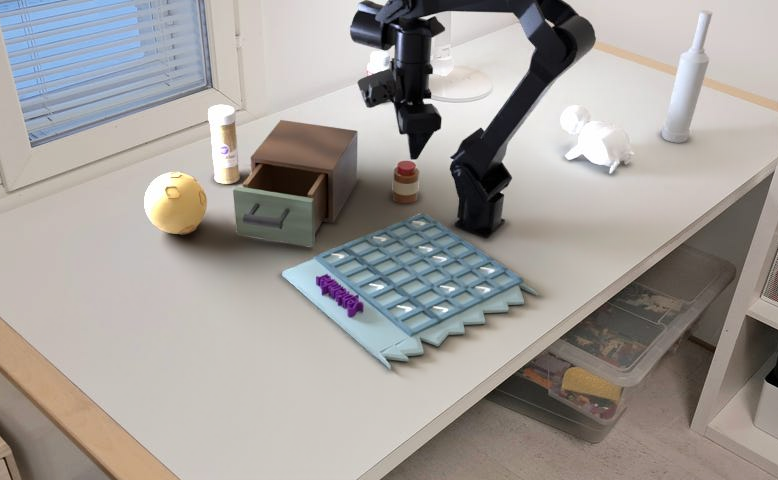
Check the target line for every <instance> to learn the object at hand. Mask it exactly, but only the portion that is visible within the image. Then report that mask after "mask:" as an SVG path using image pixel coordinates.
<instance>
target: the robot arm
mask: <svg viewBox="0 0 778 480" xmlns="http://www.w3.org/2000/svg"><path fill="white" fill-rule="evenodd" d="M445 12H460V13H461V12H464V13H466V12H467V13H498V14H499V13H500V14H502V13H503V14H513V15H514V16H515V17H516V19H518V21H519V23H520V26H521V28H522V30H523V32H524V35H525V36H526V38H527V41H529V42H530V43H531V45H533V47H534V50H533V52H532V54H531V57H530V63H529V67H528V69H527V71H526V73H525V74H524V75H523V77H522V78H521V80H520V81H519V83H518V84H517V85H516V87H515V88H514V90H513V91H512V93H511V94H510V95H509V97H508V98H507V99H506V101H505V102H504V103H503V105H502V106H501V108H500V109H499V110H498V112H497V113H496V115H495V116H494V117H493V118H492V120H491V121H490V123H489V124H488V125H487V127H486V128H485V130H484V129H483V128H482V127H479V128H478V129H477V130H475V131H474V132H472V133H470V134H469V135H468V136H466V137H465V138H464V139H463V140H461V142H460V144H459V146H458V148H457V150H456V152H455V153H453V154H452V155H451V156H449V158H450V160H452V161H451V162H450V164H449V172H450V174H451V177H452V179H453V182H454V187H455V191H456V195H457V199H458V204H457V215H456V217H457V220H455V222H454V224H453V227H455V228H456V229H460V230H463V231H465V232H467V233H470V234H473V235H476V236H477V237H480V238H483V239H489V238H491V236H492V235H493V234H494V233H496V232H497V231H498V230H499V229H500V228H501V227H502V226H503V225H505V223H506V220H505V218H502V216H503V208H504V201H505V194H504V193H503V190H504V189H506V188H508V187H509V185H510V184H511V181H512V180H513V176H512V174H511V173H510V171H509V170H508V169H507V167H506V165H505V163H503V160H504V158H505V156H506V155H507V147H508V144H509V142H510V141H511V140H512V138H513V137H514V136H515V135H516V133H517V132H518V131H519V129H520V128H521V127H522V126H523V124H524V123H525V121H526V120H528V118H529V116H530V115H531V114H532V112H533V111H534V110H535V109H536V107H537V106H538V105H539V103H540V102H541V101H542V99H543V98H544V97H545V95H546V94H547V93H548V91H550V89H551V88H552V86H553V85H554V84H555V82H556V81H557V80H558V79H559V78H560V77H562V76H563V75H564V74H565V73H567V71H569V70H570V69H571V68H572V67H573V66H574V65H576V64H577V63H578V62H579V61H580V60H581V59H583V57H585V56H586V55H587V54H588V53H589V52H590V51H591V50H592V49H593V48H594V46H595V44H596V40H597V36H596V31H595V28H594V26H593V24H592V23H591V22H590V21H589V19H587V18H585V17H584V16H582V15H580V14H579V13H578V12H577V11H576V10H575V9H574V8H573V6H572V5H570V4H569V3H568V2H566V1H564V0H387V1H386V3H385V4H384V5H383V4H379V3H376V2H374V1H372V0H363V1H360V2H358V4H357V10H356V12H355V13H354V15H353V18H352V20H351V24H350V27H349V36H350V38H351V40H352V42H353V43H356V44H358V45H363V46H366V47H369V48H373V49H375V50H382V51H387V52H388V51H389V50H390V49H391V48H392V47H394V52H393V53H394V54H393V57H391V60H390V67H389V69H387V70H384V71H379V72H376V73H374V74H371V75H369V76H367V75H366V76H364V77H362V78H360V79H358V80H357V86H358V88H359V91H360V94H361V96H362V99H363V102H364V105H365V106H366V108H369V109H371V108H374V107H377V106H379V105H381V104H384V103H387V102H391V103H392V104H393V108H394V113H395V117H396V118H395V119H396V123H397V129H398V133H399V135H401V136H402V135H406V136H407V137H406V138H407V145H408V151H409V159H410V161H415V160H418V159H419V157H420V156H421V153H422V152H423V150H424V149H425V147H426V145H427V144H428V143H429V141H430V139H431V138H432V136H433V135H434V133H436V132H438V131H440V130H441V129H442V118H443V117H442V115H441V114H440V112H439V110H438V108H437V107H436V105H434V104H433V103H425V102H424V100H431V99H432V91H431V89H430V75H433V74H434V66H433V65H432V64H431V57H432V40H433V39H432V38H434V37H436V36H439V35H440V34H443V33H444V32H445V31H446V26H444V25H443V24H442V23H441V22H440V21H439V20H438V18H437V16H436V14H440V13H445ZM433 15H434V16H433ZM429 16H431V17H429ZM425 17H429V18H427V19H426V18H425ZM547 21H548V22H549V23H551V24H552V25H553V26H552V25H550V24H549V23H548V22H547ZM388 100H389V101H388Z"/></svg>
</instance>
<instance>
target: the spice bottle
mask: <svg viewBox="0 0 778 480" xmlns="http://www.w3.org/2000/svg"><path fill="white" fill-rule="evenodd" d="M392 173H393V174H392V175H393V176H392V195H391V196H392V200H394V201H395V202H397V203H398V204H412V203H415V202H416V201H417V200H418V195H419V184H420V170H419V169H418V168H417V163H415V162H414V161H413V160H401V161H398V162H397V164H396V166H395V167H394V168H393V172H392Z"/></svg>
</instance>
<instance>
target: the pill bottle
mask: <svg viewBox="0 0 778 480" xmlns="http://www.w3.org/2000/svg"><path fill="white" fill-rule="evenodd" d="M390 61H391V53H390V52H388V50H387V51H384V50H380V49H377V50H373V51H372V52H371V53H370V62H369V63H368V64H367V66H366V67H367V69H366V76H369V75H371V74H374V73H376V72H379V71H384V70H387V69H389V67H390ZM387 102H390V100H388V101H387Z"/></svg>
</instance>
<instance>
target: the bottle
mask: <svg viewBox="0 0 778 480" xmlns="http://www.w3.org/2000/svg"><path fill="white" fill-rule="evenodd" d="M712 17H713V12H712V11H710V10H705V9H704V10H701V11H700V13H699V17H698V21H697V25H696V29H695V33H694V38H693V40H692V41H693V42H692V45H691V46H690V47H689V49H688V50H686V51H684V52H683V53H681V54H680V55H679V62H678V66H677V71H676V73H675V74H676V75H675V79H674V84H673V88H672V93H671V97H670V101H669V106H668V111H667V114H666V119H665V123H664V125H663V127H662V131H661V135H662V136H661V137H662V138H663V139H664V140H666V141H668V142H671V143H674V144H675V143H677V144H678V143H681V144H682V143H685V142H686V141H687V140H688V139H689V136H690V134H691V130H690V128H691V124H692V120H693V117H694V114H695V110H696V107H697V103H698V100H699V97H700V93H701V89H702V87H703V83H704V79H705V76H706V73H707V69H708V65H709V62H710V58H709V56H708V55H707V54H706V52H705V48H704V47H705V43H706V38H707V35H708V31H709V27H710V24H711V20H712Z"/></svg>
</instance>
